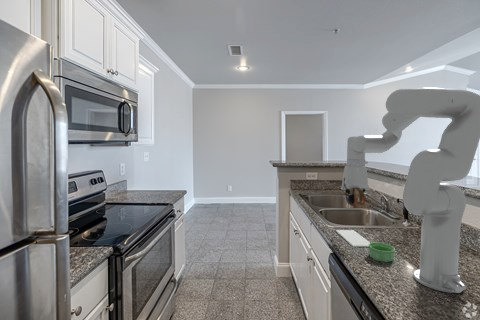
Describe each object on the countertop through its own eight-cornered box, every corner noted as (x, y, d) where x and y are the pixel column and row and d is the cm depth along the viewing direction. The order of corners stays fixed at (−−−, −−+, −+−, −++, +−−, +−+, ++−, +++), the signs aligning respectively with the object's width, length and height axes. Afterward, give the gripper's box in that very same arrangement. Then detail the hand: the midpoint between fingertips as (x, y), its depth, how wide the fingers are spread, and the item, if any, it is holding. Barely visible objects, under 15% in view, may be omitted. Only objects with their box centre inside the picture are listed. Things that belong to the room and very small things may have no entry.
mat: (374, 247, 109) (374, 245, 109) (353, 246, 109) (353, 245, 109) (353, 231, 129) (353, 230, 129) (335, 231, 129) (335, 230, 129)
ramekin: (399, 263, 94) (400, 251, 94) (374, 262, 95) (374, 251, 95) (387, 253, 103) (387, 242, 103) (364, 252, 104) (364, 241, 104)
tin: (345, 202, 126) (344, 185, 125) (351, 202, 126) (351, 185, 125) (359, 209, 111) (358, 190, 110) (366, 209, 111) (366, 190, 110)
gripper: (369, 163, 121) (368, 201, 122) (335, 162, 121) (334, 201, 122) (377, 164, 113) (376, 205, 114) (341, 164, 113) (340, 205, 114)
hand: (354, 202), depth 118 cm, fingers closed on tin, 2 cm apart
